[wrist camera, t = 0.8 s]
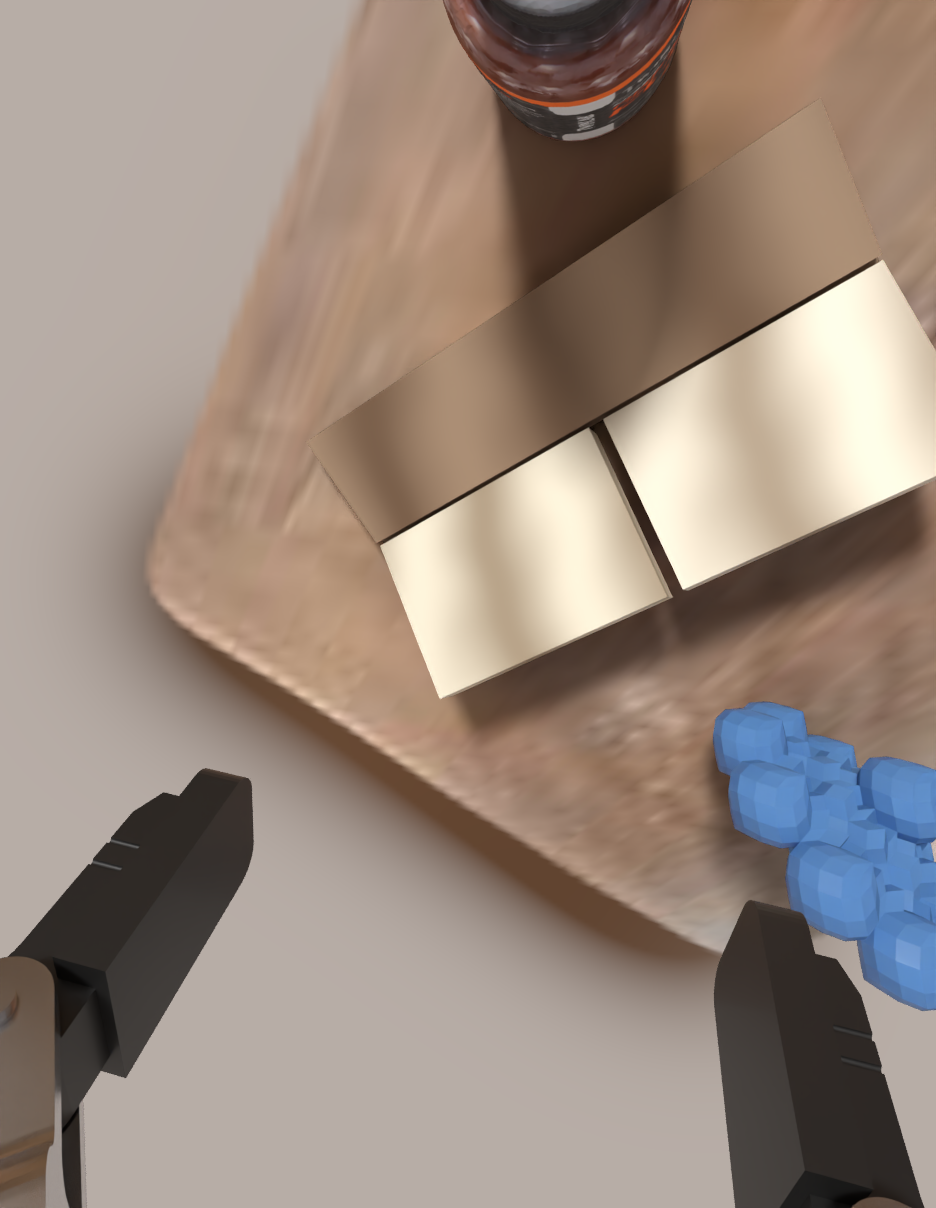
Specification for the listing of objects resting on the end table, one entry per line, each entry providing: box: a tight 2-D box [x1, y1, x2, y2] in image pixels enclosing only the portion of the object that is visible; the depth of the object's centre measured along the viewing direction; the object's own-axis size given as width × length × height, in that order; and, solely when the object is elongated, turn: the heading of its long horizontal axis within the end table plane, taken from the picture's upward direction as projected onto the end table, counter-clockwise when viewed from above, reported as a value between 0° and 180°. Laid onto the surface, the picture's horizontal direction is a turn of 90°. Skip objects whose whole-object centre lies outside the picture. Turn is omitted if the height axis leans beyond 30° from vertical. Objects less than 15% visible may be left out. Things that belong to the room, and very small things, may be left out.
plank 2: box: [603, 260, 936, 591], centre depth 25 cm, size 10×7×1 cm
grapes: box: [713, 702, 936, 1011], centre depth 27 cm, size 12×7×12 cm, turn 55°
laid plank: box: [306, 98, 882, 543], centre depth 27 cm, size 21×5×1 cm, turn 122°
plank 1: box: [380, 427, 673, 699], centre depth 29 cm, size 10×7×1 cm
